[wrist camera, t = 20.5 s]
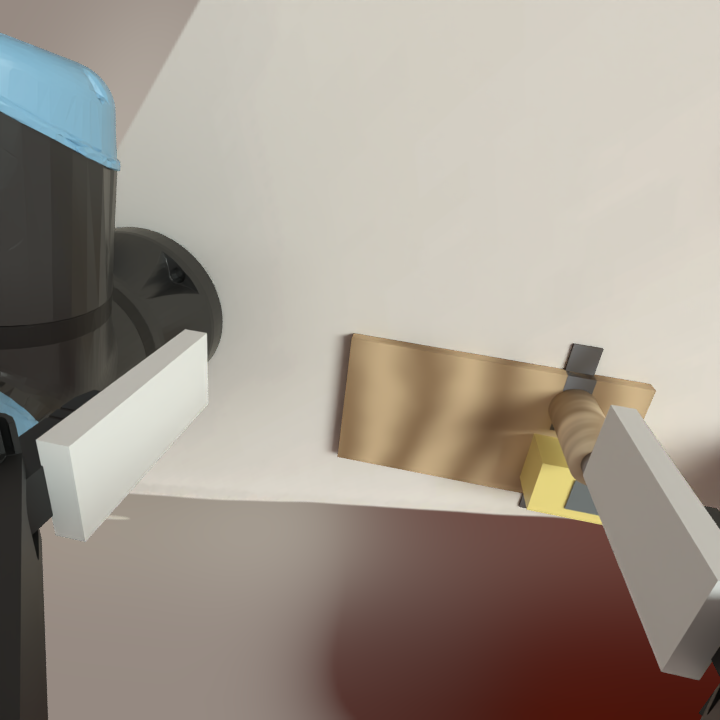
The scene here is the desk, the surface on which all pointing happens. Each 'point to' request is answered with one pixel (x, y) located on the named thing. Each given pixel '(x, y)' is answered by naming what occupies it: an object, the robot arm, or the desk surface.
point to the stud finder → (554, 483)
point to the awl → (576, 427)
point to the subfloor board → (462, 408)
